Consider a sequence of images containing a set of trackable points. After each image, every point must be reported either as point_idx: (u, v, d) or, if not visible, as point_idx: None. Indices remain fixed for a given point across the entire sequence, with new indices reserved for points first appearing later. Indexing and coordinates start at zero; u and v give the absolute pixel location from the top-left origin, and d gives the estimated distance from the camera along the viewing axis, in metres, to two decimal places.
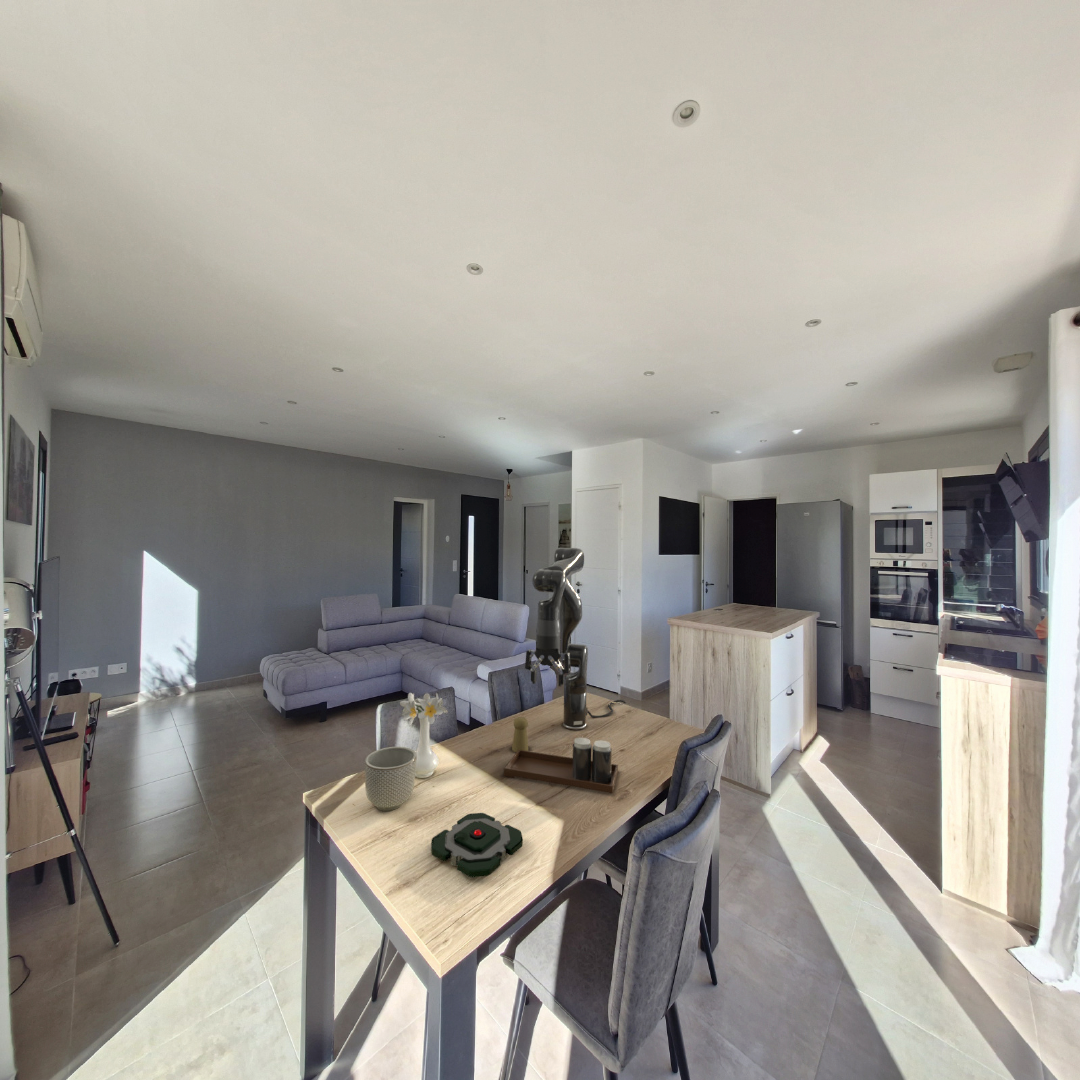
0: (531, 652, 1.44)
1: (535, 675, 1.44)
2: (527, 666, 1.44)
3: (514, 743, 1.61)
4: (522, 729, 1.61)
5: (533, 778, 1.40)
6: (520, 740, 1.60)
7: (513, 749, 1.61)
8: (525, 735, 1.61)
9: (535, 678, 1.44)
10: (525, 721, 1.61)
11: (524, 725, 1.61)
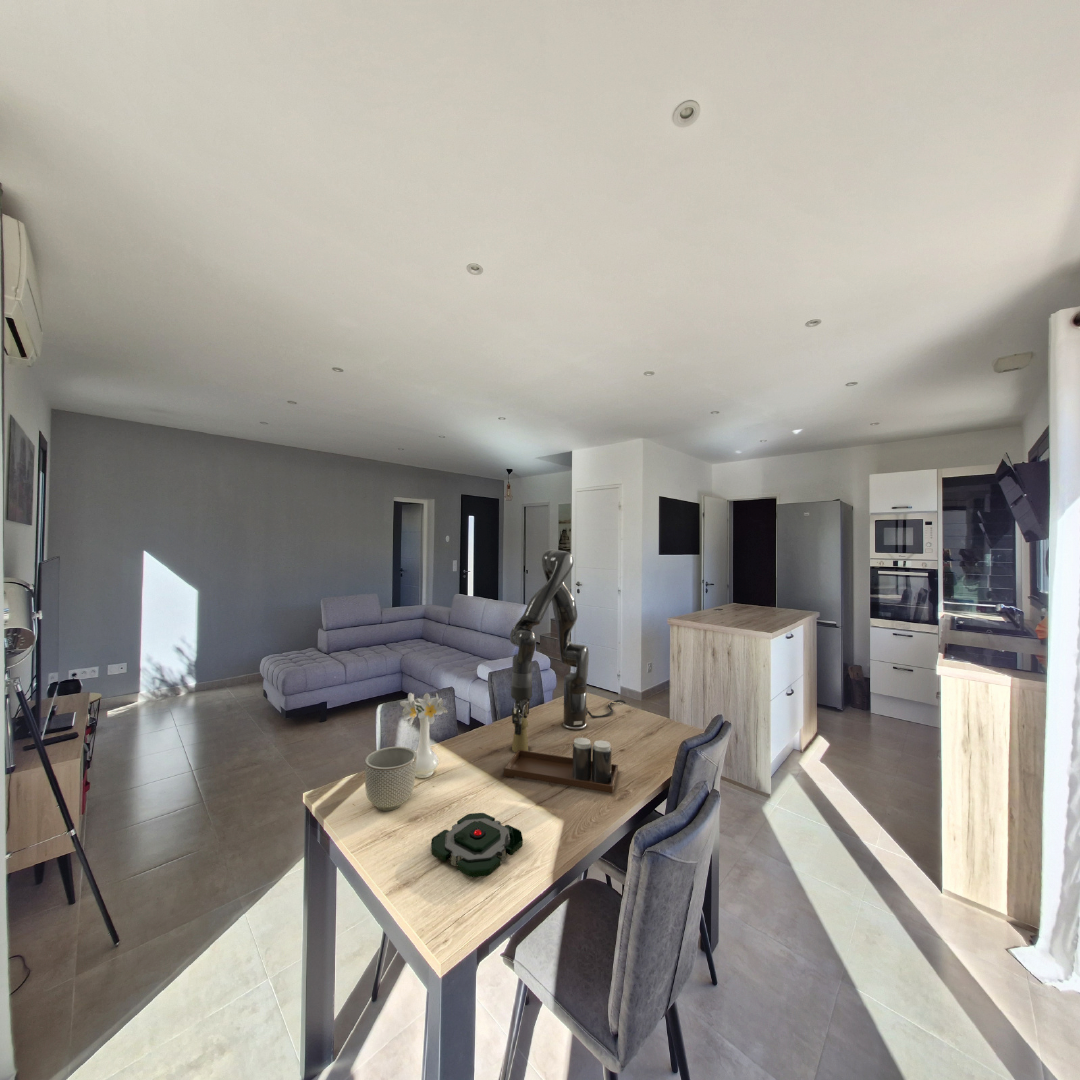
0: None
1: None
2: None
3: (514, 743, 1.61)
4: (522, 729, 1.61)
5: (533, 778, 1.40)
6: (520, 740, 1.60)
7: (513, 749, 1.61)
8: (525, 735, 1.61)
9: None
10: (525, 721, 1.61)
11: (524, 725, 1.61)
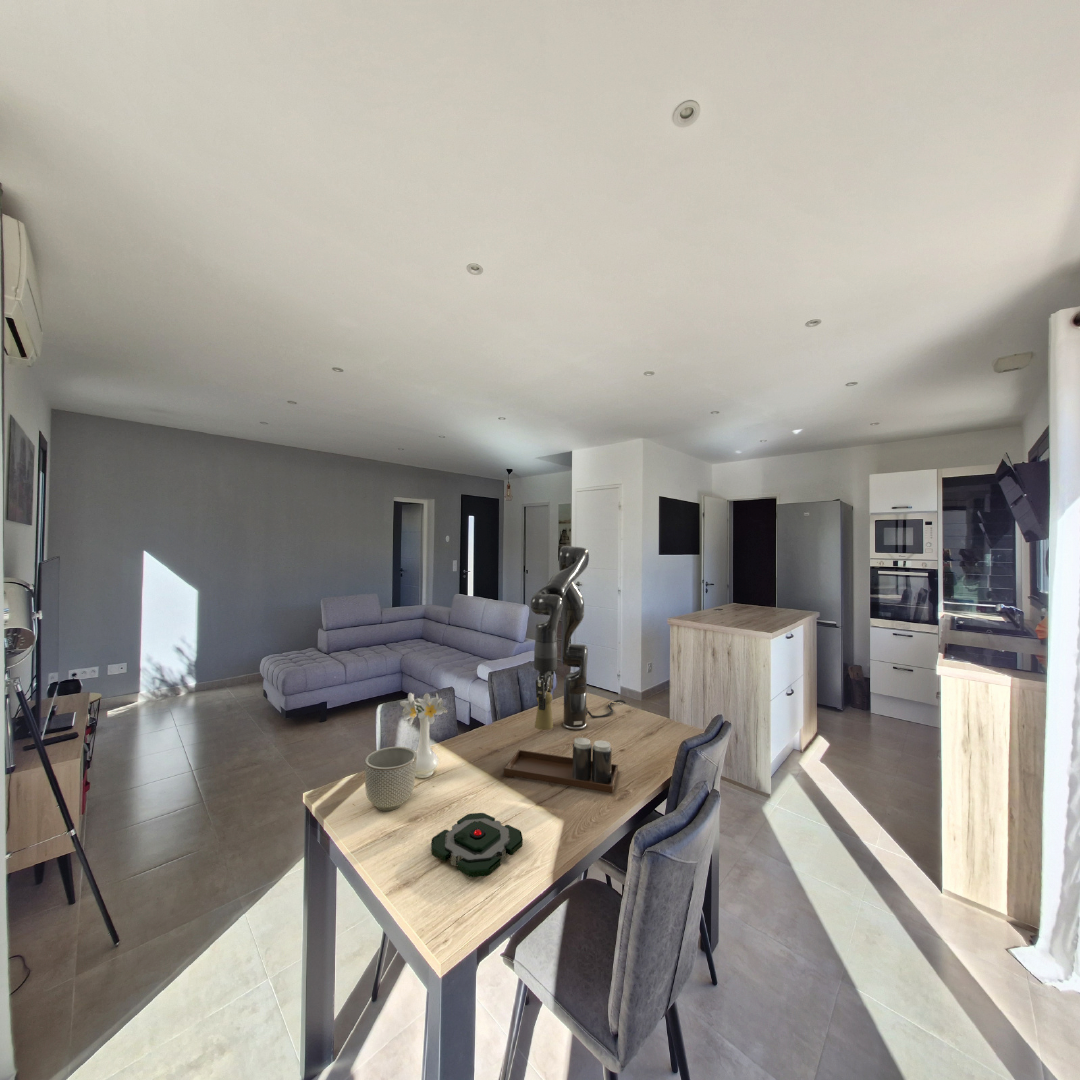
0: None
1: None
2: None
3: (537, 719, 1.46)
4: (546, 704, 1.46)
5: (533, 778, 1.40)
6: (544, 716, 1.45)
7: (536, 726, 1.46)
8: (550, 711, 1.47)
9: None
10: (550, 695, 1.47)
11: (549, 700, 1.46)
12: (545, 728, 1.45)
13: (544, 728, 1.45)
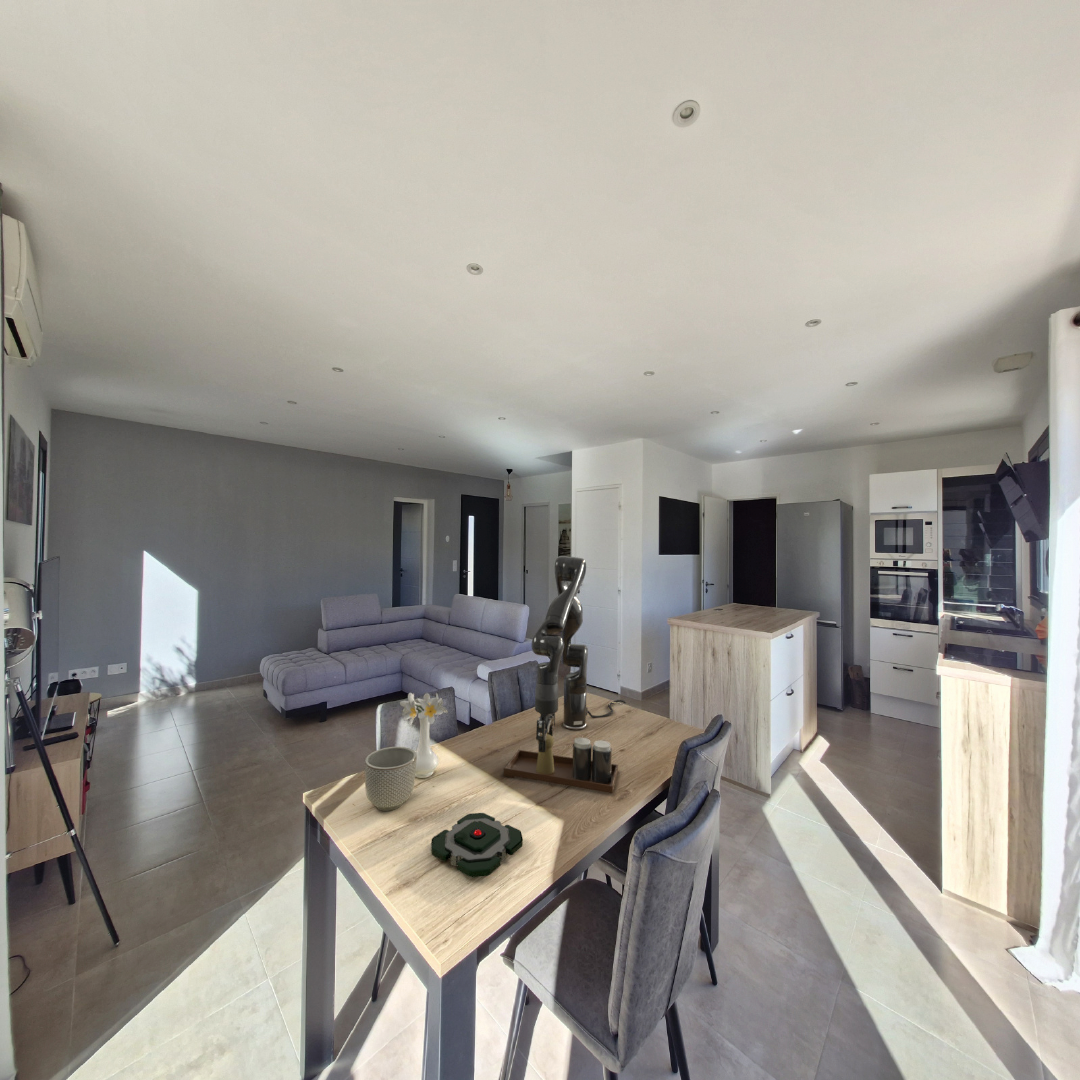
0: None
1: (548, 733, 1.50)
2: None
3: (539, 763, 1.45)
4: (548, 748, 1.45)
5: (533, 778, 1.40)
6: (546, 761, 1.44)
7: (538, 770, 1.45)
8: (551, 754, 1.45)
9: None
10: (551, 739, 1.45)
11: (550, 743, 1.44)
12: (546, 773, 1.44)
13: (545, 773, 1.43)
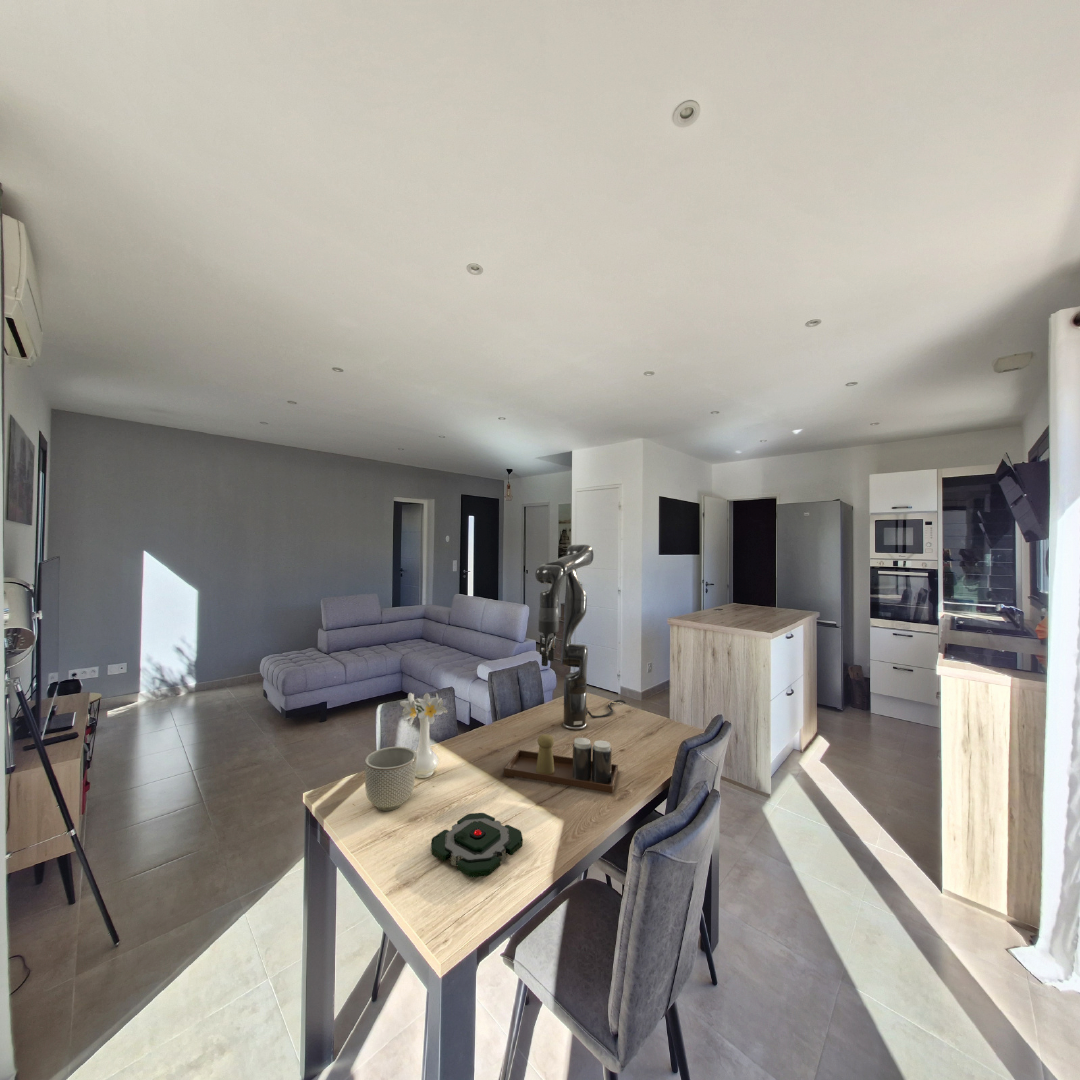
0: None
1: (550, 654, 1.71)
2: None
3: (539, 763, 1.45)
4: (548, 748, 1.45)
5: (533, 778, 1.40)
6: (546, 761, 1.44)
7: (538, 770, 1.45)
8: (551, 754, 1.45)
9: (550, 656, 1.70)
10: (551, 739, 1.45)
11: (550, 743, 1.44)
12: (546, 773, 1.44)
13: (545, 773, 1.43)
